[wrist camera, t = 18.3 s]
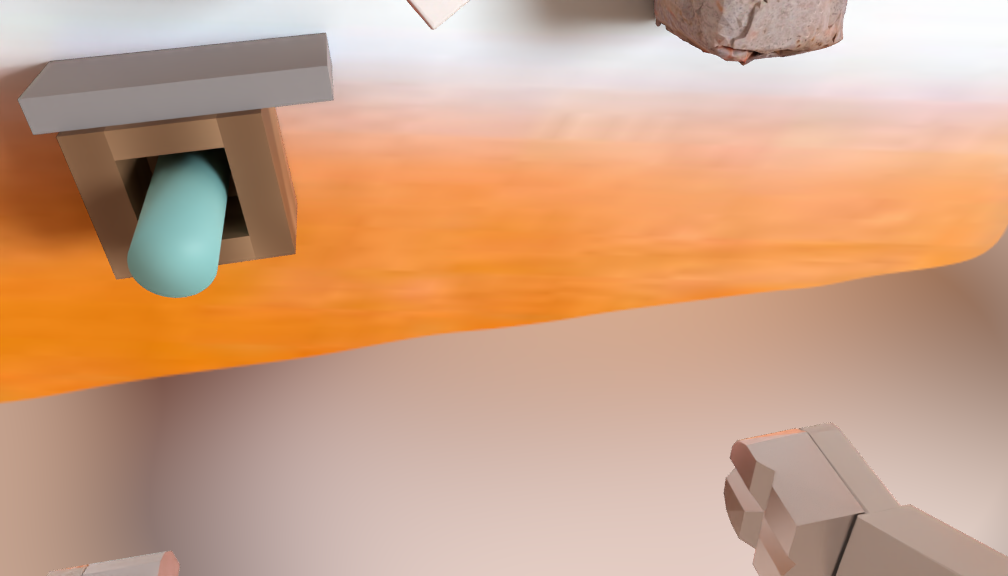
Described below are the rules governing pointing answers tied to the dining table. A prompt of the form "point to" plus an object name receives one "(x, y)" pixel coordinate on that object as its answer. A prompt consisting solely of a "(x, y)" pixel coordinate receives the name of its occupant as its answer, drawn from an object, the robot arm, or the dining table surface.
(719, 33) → the grey boxy piece
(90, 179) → the walnut block
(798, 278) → the dining table surface
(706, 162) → the dining table surface
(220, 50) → the backstop wall
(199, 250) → the dowel
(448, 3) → the small box
